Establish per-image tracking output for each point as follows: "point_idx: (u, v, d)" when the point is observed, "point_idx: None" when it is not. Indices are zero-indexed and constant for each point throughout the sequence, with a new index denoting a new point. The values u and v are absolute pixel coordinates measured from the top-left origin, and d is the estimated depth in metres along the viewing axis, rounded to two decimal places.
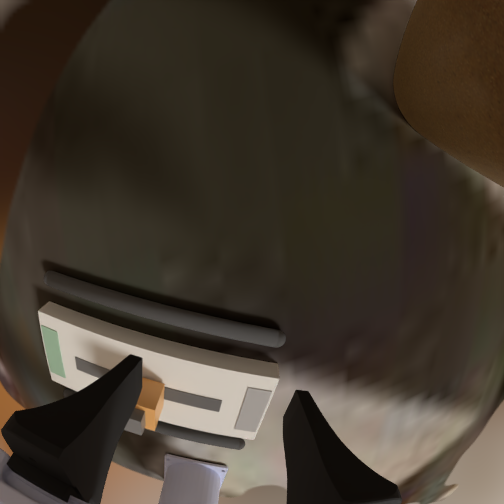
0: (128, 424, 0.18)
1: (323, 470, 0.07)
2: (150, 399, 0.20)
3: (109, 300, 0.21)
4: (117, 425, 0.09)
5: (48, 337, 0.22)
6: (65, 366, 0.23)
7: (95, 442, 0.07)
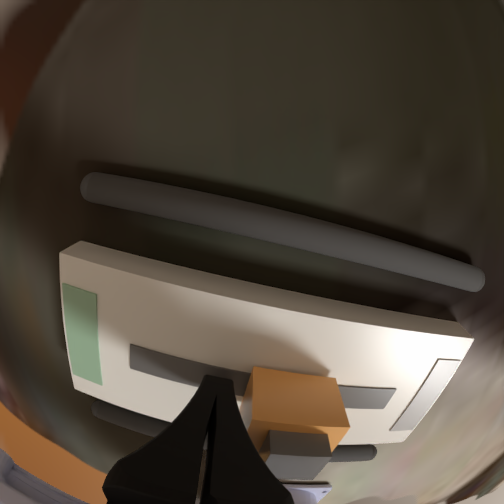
0: (297, 467, 0.09)
1: (212, 460, 0.07)
2: (331, 409, 0.11)
3: (235, 214, 0.11)
4: None
5: (75, 307, 0.12)
6: (104, 363, 0.13)
7: None
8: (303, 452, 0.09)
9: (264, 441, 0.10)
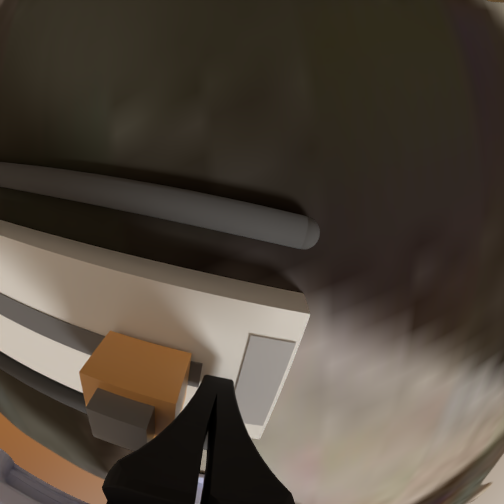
0: (120, 433, 0.09)
1: (212, 460, 0.07)
2: (165, 382, 0.10)
3: (30, 177, 0.11)
4: None
5: None
6: None
7: None
8: (118, 416, 0.08)
9: None
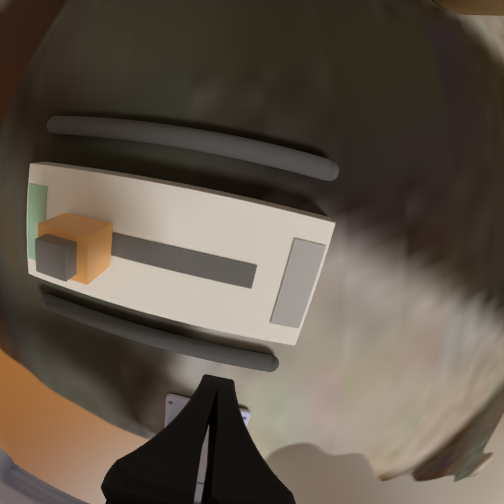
0: (51, 259, 0.13)
1: (213, 460, 0.07)
2: (88, 229, 0.15)
3: (123, 126, 0.16)
4: None
5: (34, 199, 0.17)
6: None
7: None
8: (52, 242, 0.13)
9: None
